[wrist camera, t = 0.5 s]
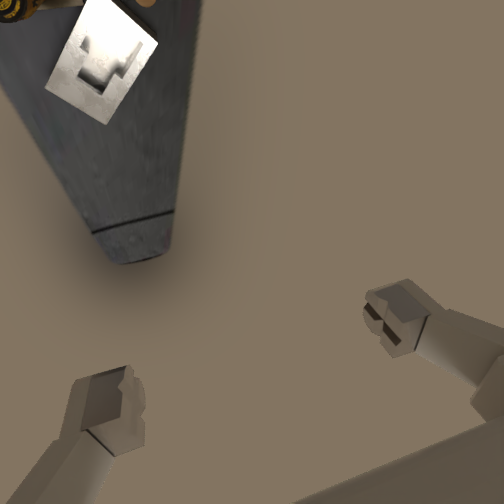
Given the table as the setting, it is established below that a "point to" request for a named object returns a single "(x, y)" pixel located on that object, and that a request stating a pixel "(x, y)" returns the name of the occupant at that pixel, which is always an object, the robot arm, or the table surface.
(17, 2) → the condiment
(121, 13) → the keyhole plate
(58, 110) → the table surface
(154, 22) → the table surface
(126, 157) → the table surface
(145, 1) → the peg
